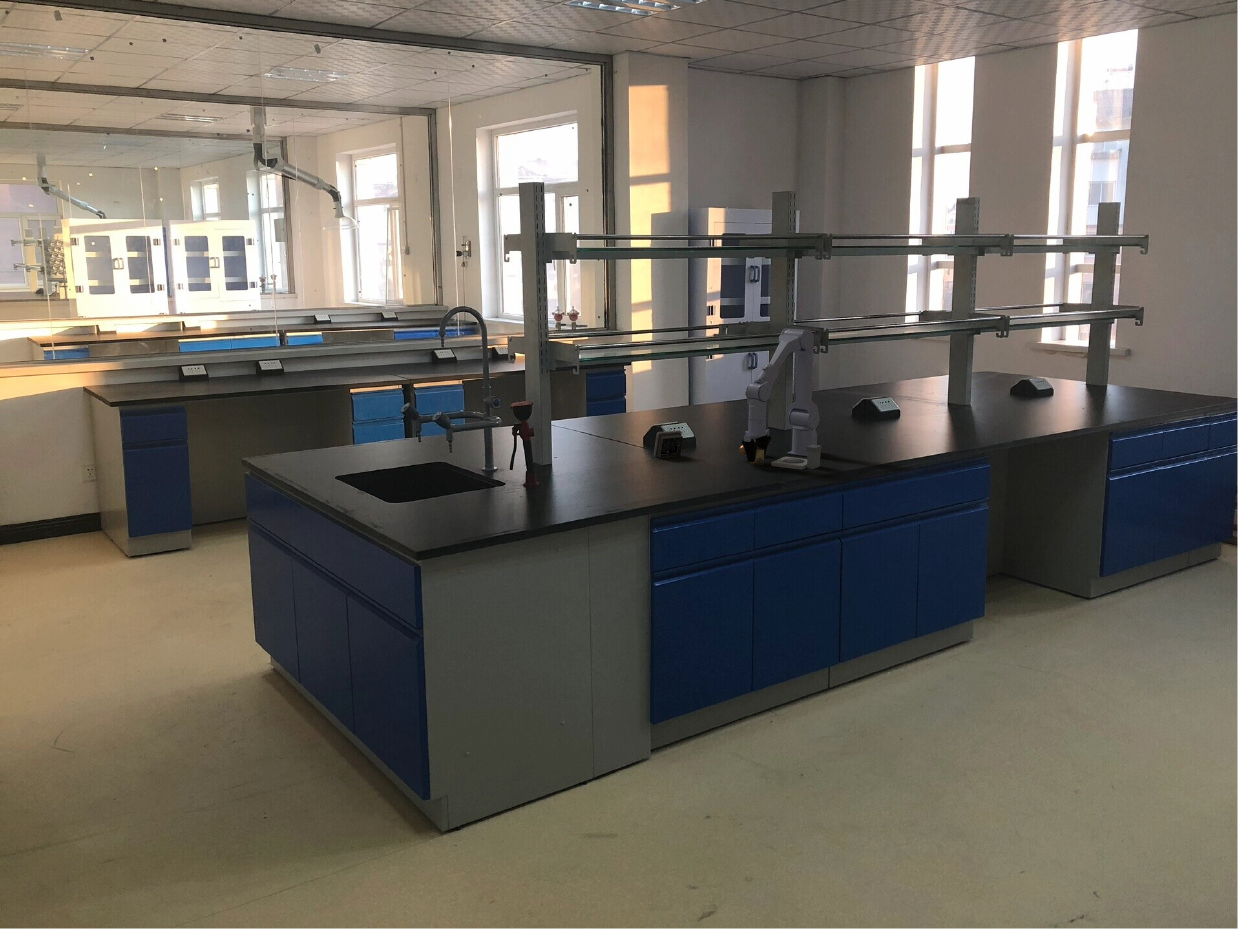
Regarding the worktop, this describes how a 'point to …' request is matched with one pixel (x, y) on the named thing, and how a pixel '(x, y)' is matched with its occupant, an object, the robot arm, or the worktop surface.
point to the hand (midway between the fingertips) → (756, 459)
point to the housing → (758, 457)
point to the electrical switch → (668, 444)
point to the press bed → (801, 460)
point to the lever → (742, 450)
